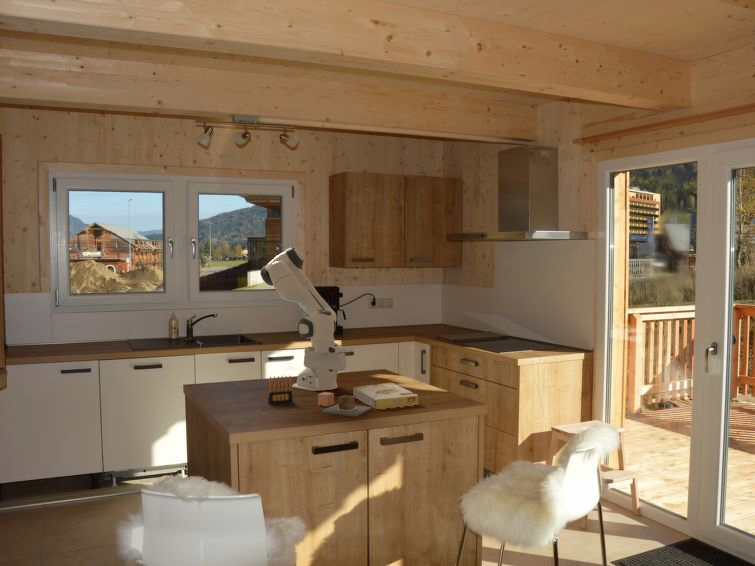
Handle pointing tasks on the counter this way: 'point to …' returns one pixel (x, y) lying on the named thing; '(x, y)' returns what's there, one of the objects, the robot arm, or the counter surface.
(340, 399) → the walnut cube
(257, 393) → the counter surface
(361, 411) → the board
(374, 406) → the cereal box
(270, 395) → the ammunition clip
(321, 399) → the terracotta cube
